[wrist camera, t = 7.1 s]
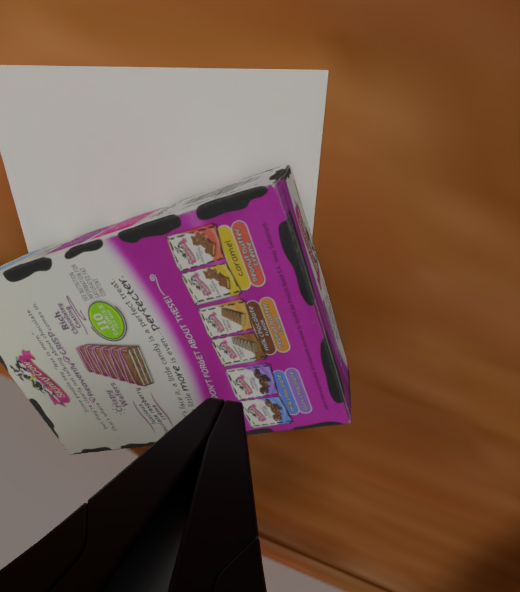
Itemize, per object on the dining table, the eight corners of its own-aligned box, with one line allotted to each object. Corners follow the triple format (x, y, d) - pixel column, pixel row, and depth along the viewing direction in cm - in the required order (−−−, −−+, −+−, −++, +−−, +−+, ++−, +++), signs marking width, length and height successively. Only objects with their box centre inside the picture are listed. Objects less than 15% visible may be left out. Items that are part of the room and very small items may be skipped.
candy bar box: (294, 159, 16) (19, 251, 21) (281, 177, 12) (-64, 288, 16) (349, 361, 20) (111, 399, 25) (355, 429, 16) (64, 460, 21)
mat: (328, 71, 15) (328, 70, 14) (298, 380, 22) (297, 384, 22) (-17, 65, 17) (-24, 64, 17) (59, 346, 24) (56, 350, 24)
